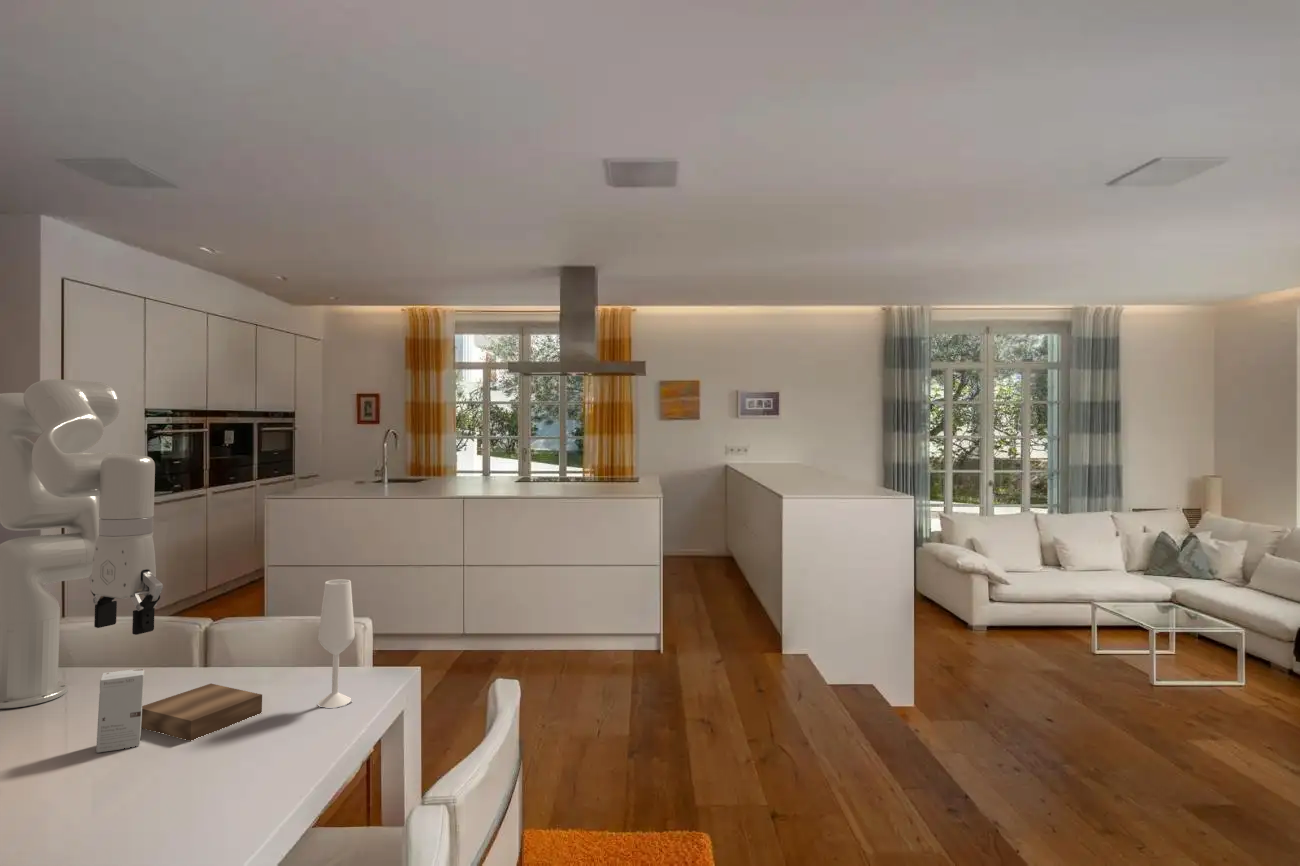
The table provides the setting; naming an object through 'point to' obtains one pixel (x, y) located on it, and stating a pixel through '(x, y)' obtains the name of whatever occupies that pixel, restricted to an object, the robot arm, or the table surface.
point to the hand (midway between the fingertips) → (124, 629)
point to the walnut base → (200, 711)
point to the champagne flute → (336, 631)
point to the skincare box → (120, 710)
